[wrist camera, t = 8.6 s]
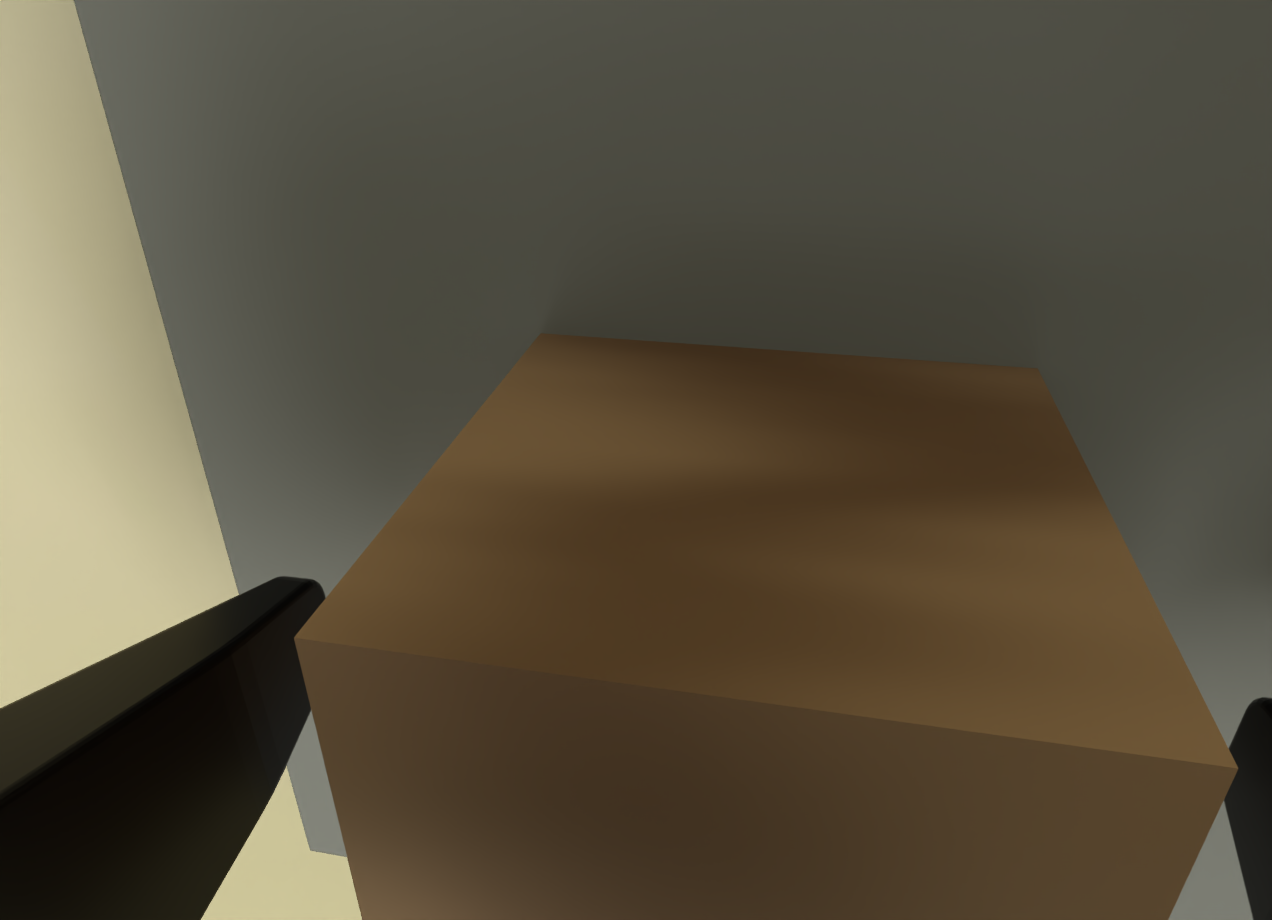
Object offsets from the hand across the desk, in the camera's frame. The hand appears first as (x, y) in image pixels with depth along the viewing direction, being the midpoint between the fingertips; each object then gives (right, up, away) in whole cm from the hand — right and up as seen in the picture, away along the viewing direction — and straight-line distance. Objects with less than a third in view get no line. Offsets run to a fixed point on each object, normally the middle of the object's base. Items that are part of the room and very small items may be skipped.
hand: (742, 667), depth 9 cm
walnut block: (0, +1, +2) cm, 2 cm away
